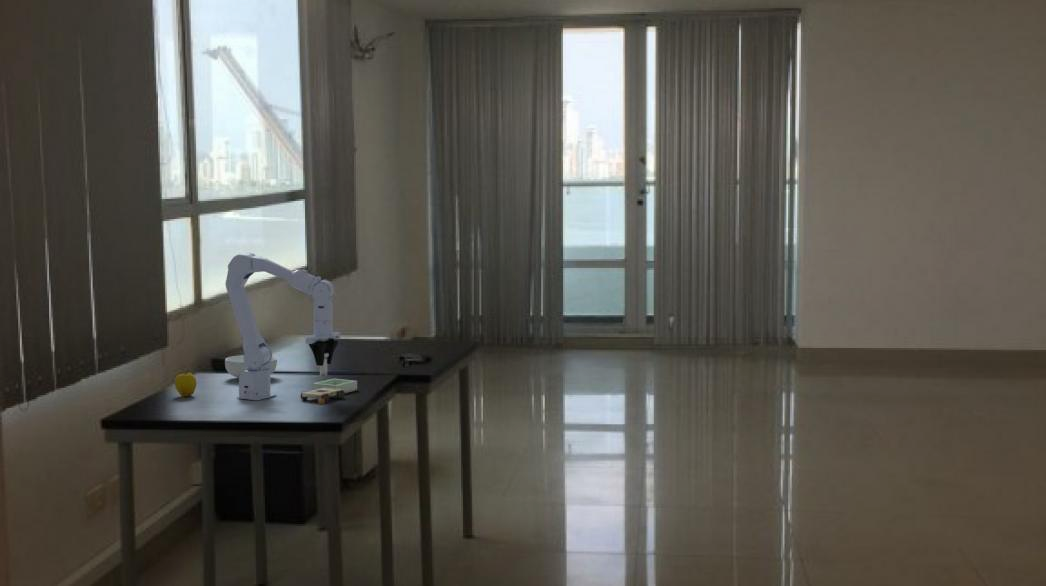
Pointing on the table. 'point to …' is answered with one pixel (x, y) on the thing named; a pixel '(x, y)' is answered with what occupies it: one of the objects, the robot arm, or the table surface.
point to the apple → (185, 384)
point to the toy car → (322, 394)
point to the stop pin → (324, 365)
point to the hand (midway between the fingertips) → (323, 364)
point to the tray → (337, 385)
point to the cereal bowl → (243, 365)
